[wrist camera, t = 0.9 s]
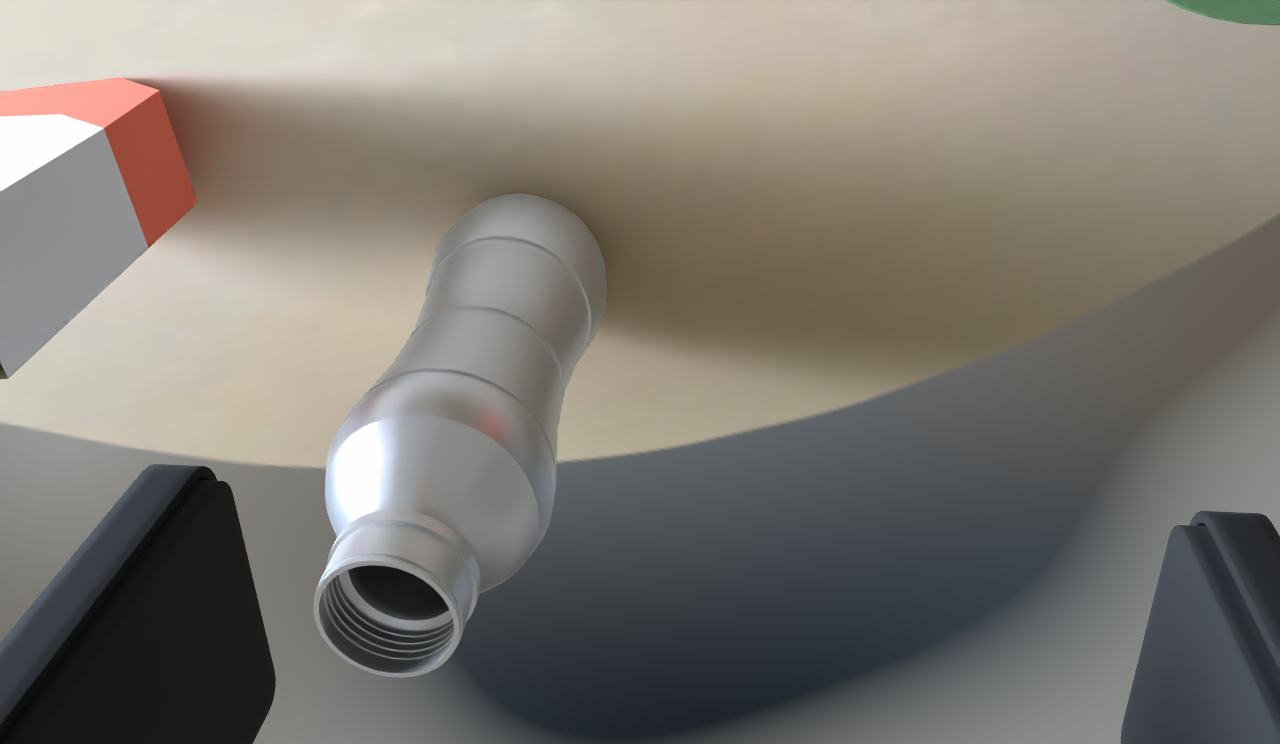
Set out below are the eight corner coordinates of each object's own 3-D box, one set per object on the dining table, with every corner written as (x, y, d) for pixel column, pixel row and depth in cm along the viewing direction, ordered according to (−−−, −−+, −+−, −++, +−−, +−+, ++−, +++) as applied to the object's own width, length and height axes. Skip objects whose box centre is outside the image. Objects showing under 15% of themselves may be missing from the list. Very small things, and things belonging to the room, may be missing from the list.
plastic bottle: (621, 185, 43) (526, 523, 26) (608, 345, 47) (517, 737, 30) (446, 165, 43) (238, 487, 26) (447, 326, 47) (263, 704, 30)
